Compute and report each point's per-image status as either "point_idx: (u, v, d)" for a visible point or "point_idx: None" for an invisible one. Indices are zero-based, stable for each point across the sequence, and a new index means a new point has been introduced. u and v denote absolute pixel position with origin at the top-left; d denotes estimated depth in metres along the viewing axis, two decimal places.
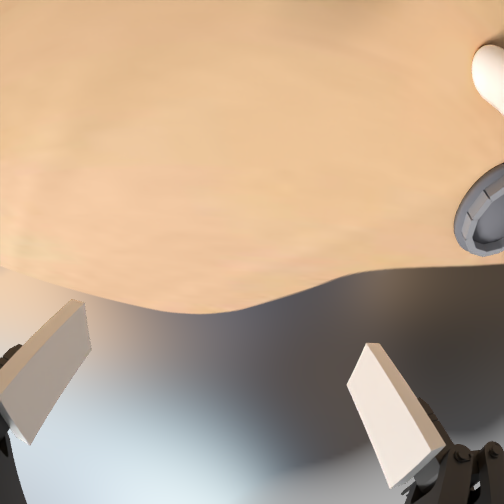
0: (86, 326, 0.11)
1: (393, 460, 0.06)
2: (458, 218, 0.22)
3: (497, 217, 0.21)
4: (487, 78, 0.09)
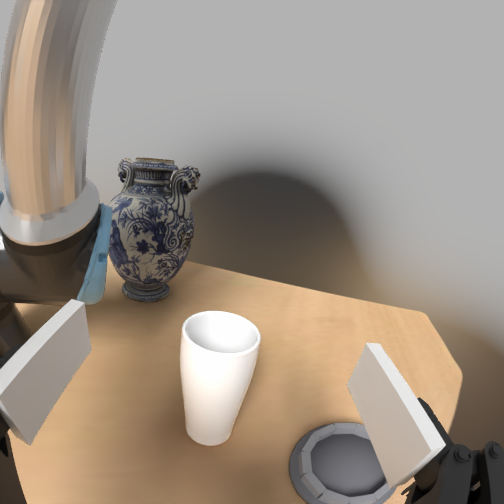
0: (86, 326, 0.11)
1: (393, 460, 0.06)
2: None
3: (350, 470, 0.21)
4: (191, 429, 0.23)
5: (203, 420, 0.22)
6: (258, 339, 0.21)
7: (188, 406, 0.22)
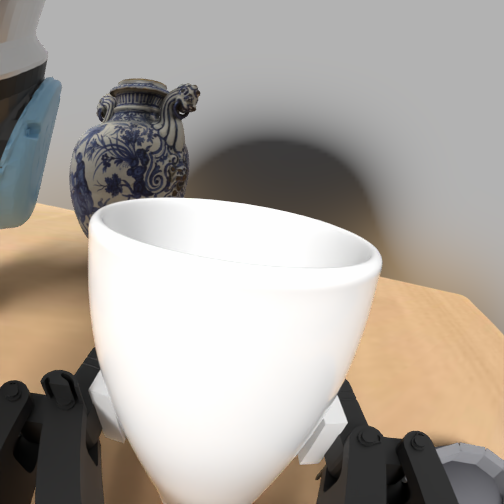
0: None
1: None
2: None
3: None
4: (166, 502, 0.08)
5: (186, 502, 0.06)
6: (371, 245, 0.06)
7: (145, 470, 0.06)
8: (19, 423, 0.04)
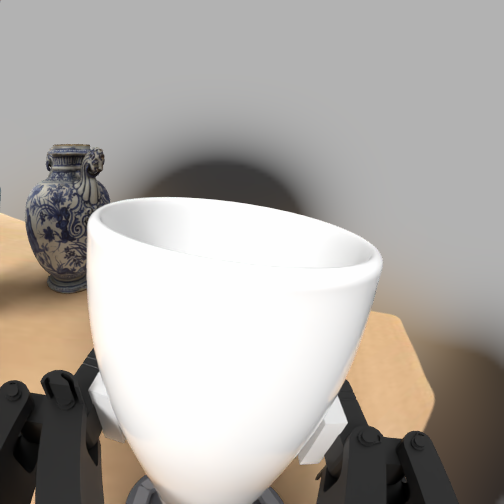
0: None
1: None
2: None
3: None
4: (165, 503, 0.08)
5: (186, 503, 0.06)
6: (371, 245, 0.06)
7: (144, 471, 0.06)
8: (19, 423, 0.04)
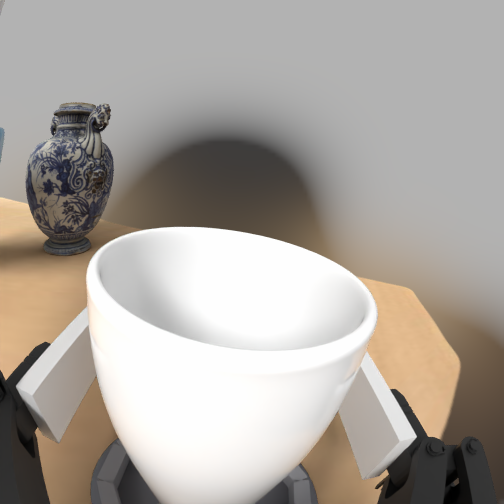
0: None
1: (365, 450, 0.07)
2: None
3: None
4: None
5: None
6: (368, 293, 0.06)
7: (146, 483, 0.06)
8: None
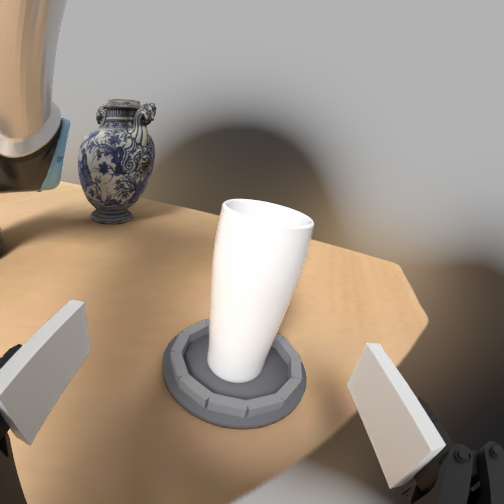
0: (86, 326, 0.11)
1: (393, 460, 0.06)
2: (178, 399, 0.19)
3: None
4: (216, 358, 0.21)
5: (235, 337, 0.20)
6: (312, 221, 0.19)
7: (218, 319, 0.20)
8: None
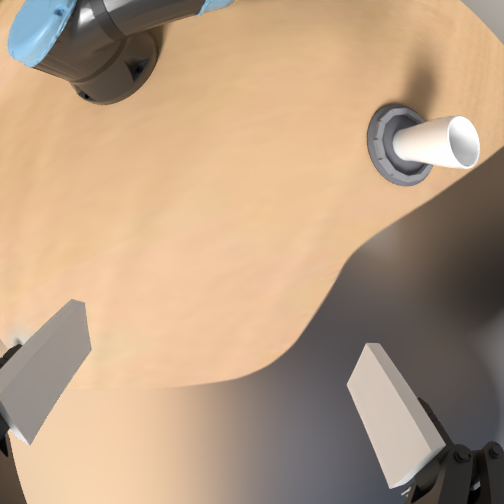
0: (87, 326, 0.11)
1: (393, 460, 0.06)
2: (377, 167, 0.38)
3: None
4: (402, 153, 0.35)
5: (418, 160, 0.32)
6: (478, 155, 0.23)
7: (415, 152, 0.31)
8: None
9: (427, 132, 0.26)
